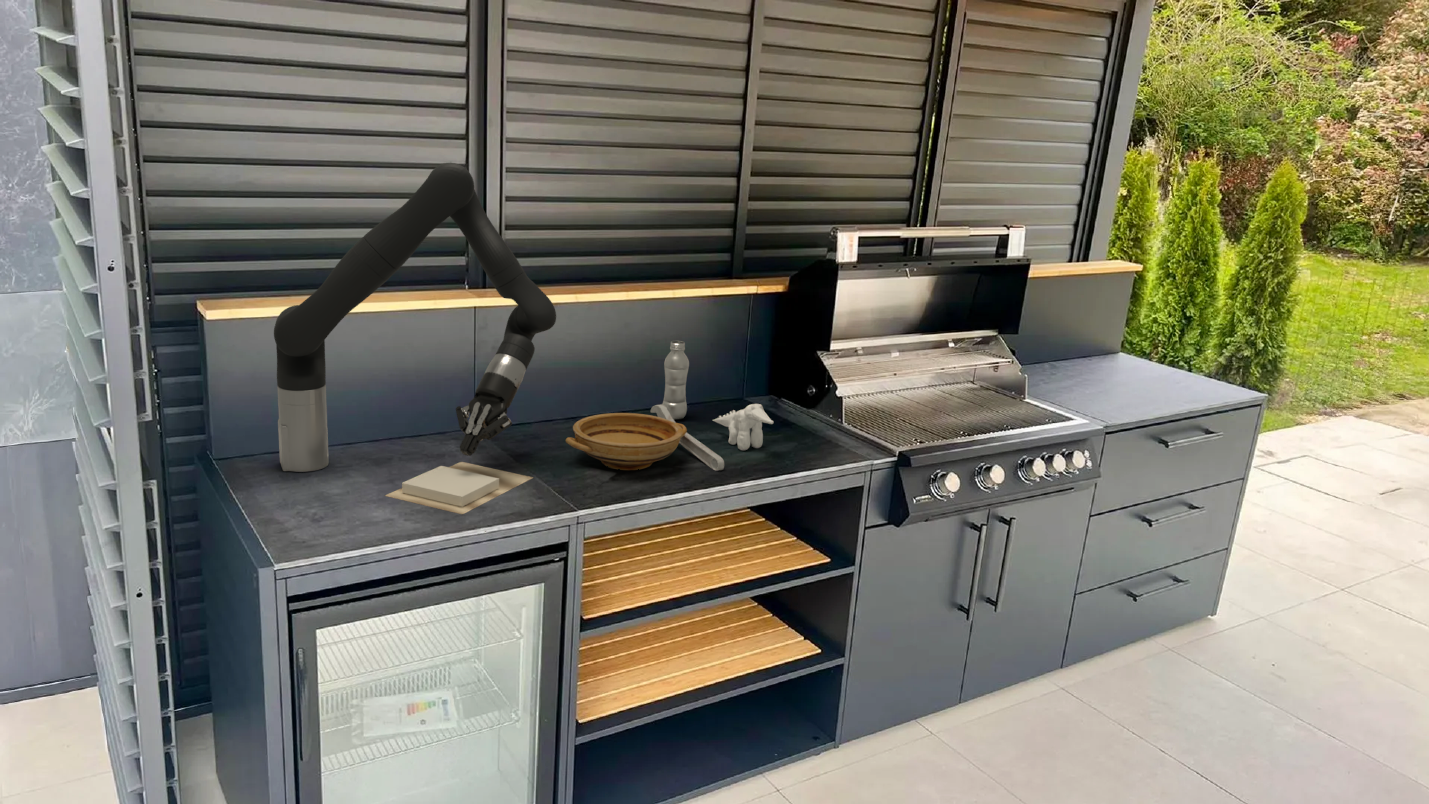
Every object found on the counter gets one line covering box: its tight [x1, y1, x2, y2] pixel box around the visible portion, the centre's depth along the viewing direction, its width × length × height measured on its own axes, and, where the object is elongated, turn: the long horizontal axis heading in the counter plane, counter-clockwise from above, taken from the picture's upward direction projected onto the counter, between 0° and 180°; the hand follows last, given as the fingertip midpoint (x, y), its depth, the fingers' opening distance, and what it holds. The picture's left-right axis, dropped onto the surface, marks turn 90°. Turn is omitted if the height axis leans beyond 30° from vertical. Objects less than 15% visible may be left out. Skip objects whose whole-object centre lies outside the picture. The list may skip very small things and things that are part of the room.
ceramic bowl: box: [565, 412, 688, 471], centre depth 232 cm, size 30×24×8 cm
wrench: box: [650, 403, 725, 472], centre depth 242 cm, size 8×2×30 cm
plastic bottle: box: [661, 340, 690, 420], centre depth 266 cm, size 6×7×20 cm
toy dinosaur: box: [712, 403, 774, 451], centre depth 250 cm, size 7×24×11 cm, turn 35°
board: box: [384, 461, 534, 515], centre depth 208 cm, size 24×18×2 cm
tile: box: [401, 465, 499, 507], centre depth 205 cm, size 14×2×12 cm
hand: (465, 453), depth 207 cm, fingers closed
